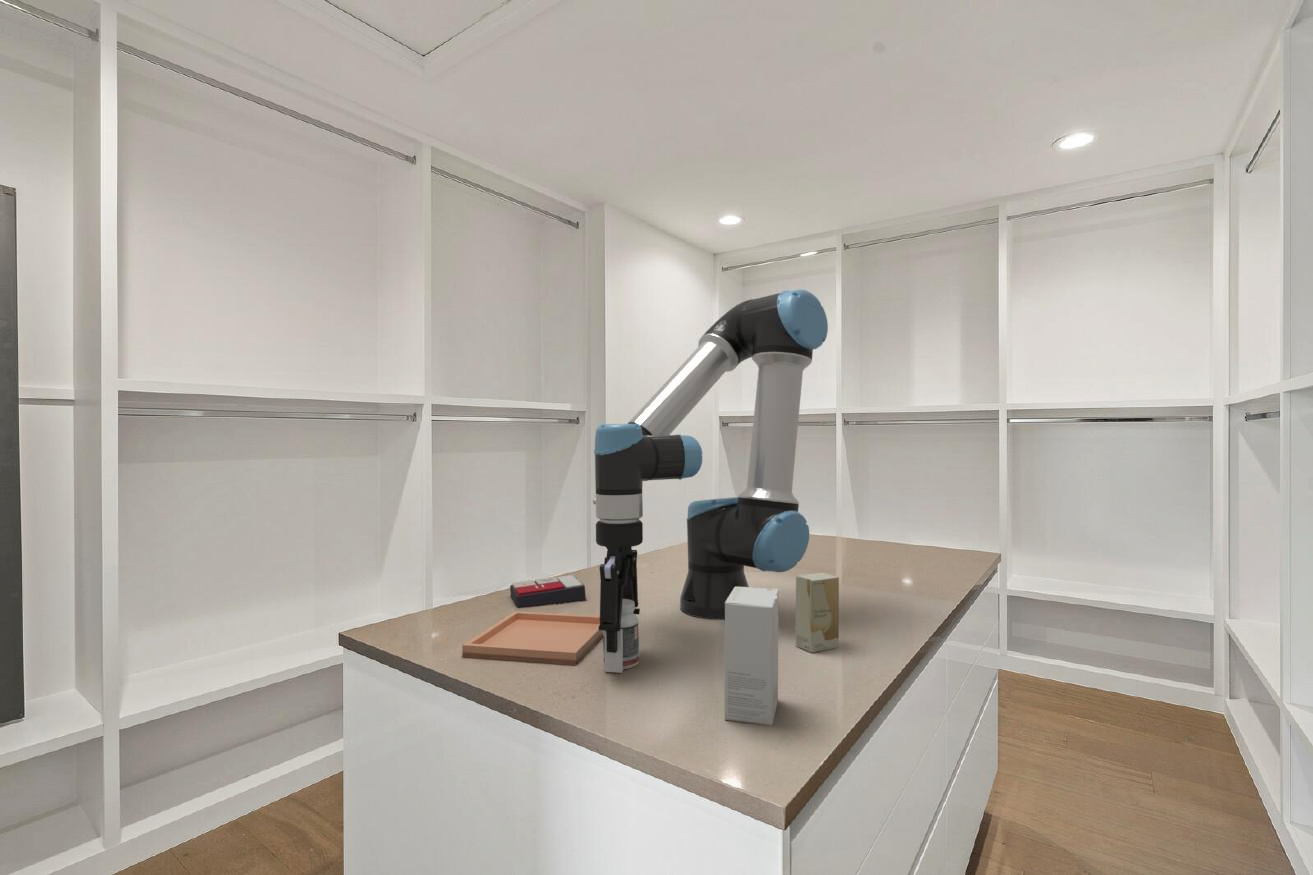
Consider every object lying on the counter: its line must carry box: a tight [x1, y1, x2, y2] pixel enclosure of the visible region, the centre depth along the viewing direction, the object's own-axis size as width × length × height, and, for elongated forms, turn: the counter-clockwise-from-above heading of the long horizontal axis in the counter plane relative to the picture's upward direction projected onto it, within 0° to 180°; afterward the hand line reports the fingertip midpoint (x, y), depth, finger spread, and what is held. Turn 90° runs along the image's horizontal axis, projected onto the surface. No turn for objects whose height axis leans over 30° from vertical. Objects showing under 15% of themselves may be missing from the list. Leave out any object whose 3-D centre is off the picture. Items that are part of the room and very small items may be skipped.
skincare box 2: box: [795, 572, 840, 653], centre depth 109 cm, size 6×4×12 cm
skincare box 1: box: [724, 586, 780, 726], centre depth 85 cm, size 8×7×16 cm
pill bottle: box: [602, 599, 640, 670], centre depth 102 cm, size 6×6×10 cm
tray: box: [461, 610, 603, 666], centre depth 114 cm, size 20×20×2 cm
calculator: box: [509, 574, 587, 609], centre depth 143 cm, size 11×4×15 cm
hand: (620, 662), depth 102 cm, fingers open, 7 cm apart
